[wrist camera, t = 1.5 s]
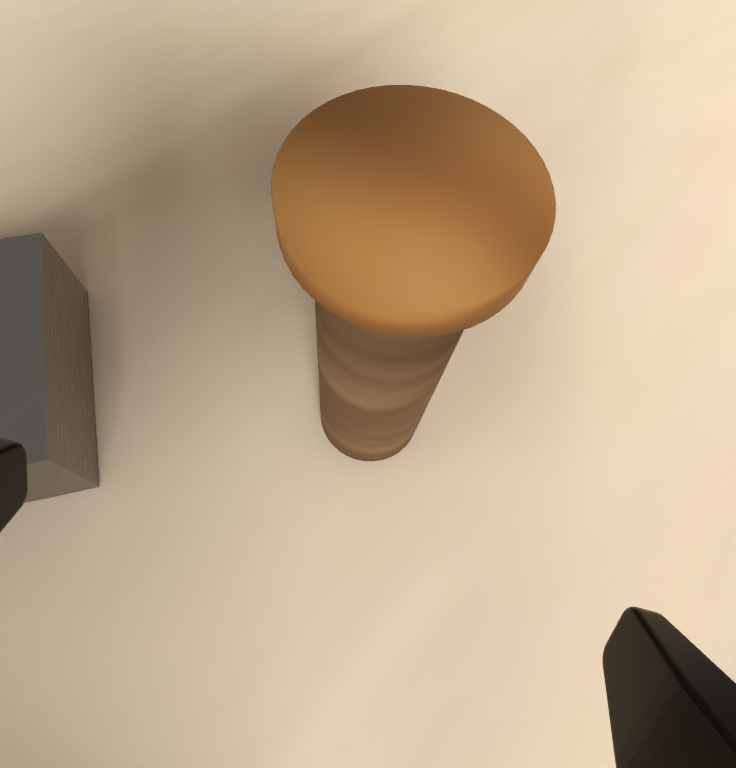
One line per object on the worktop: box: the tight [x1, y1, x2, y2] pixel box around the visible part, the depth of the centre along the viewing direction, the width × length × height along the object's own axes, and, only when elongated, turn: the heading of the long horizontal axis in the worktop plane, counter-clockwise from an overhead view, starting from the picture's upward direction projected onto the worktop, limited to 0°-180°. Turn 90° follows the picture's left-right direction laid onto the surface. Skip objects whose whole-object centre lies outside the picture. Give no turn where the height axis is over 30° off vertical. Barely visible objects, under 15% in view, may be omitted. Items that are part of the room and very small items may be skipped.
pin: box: [271, 85, 556, 461], centre depth 16 cm, size 5×5×13 cm
